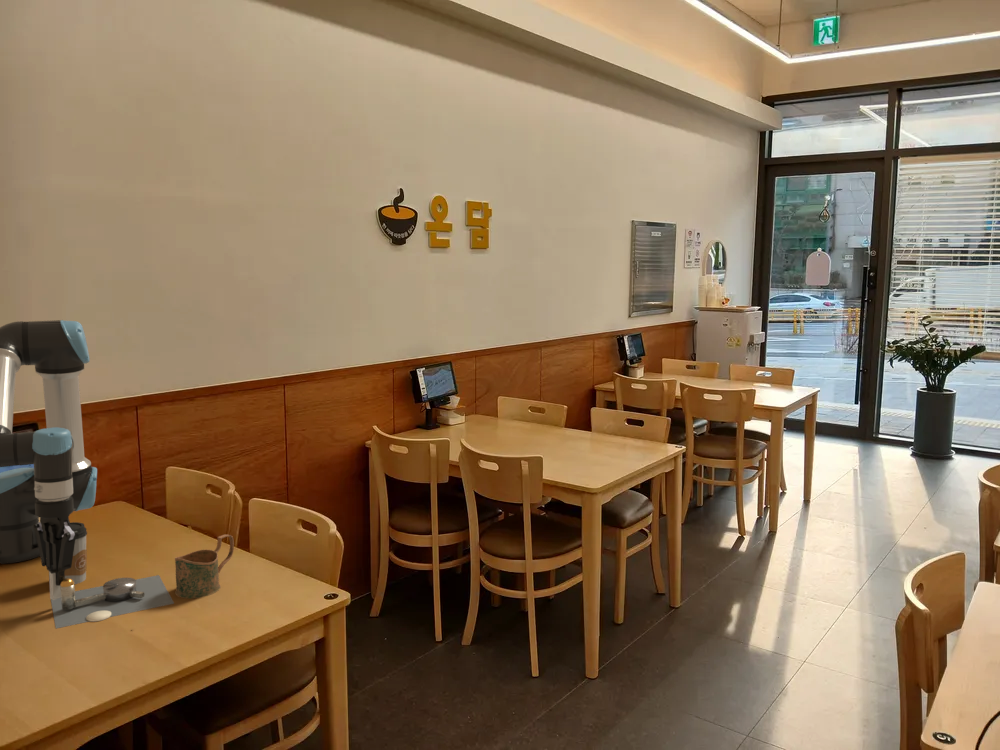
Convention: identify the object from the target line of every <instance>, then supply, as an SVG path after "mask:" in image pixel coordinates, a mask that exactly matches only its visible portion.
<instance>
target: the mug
mask: <svg viewBox="0 0 1000 750" xmlns="http://www.w3.org/2000/svg"><path fill="white" fill-rule="evenodd" d="M227 537H228V538H229V552H228V554H227V557H226V558H224V560H223V561H221V563H220V564H219V561H218V560H219V555H218V553H219V551H220V550H221V547H222V539H224V538H227ZM234 549H235V541H234V536H233V535H231V534H222V535H219V536H217V544H216V547H215V549H214V550H212V549H199V550H195V551H192V552H190V553H187V554H184V555H180V556H176V557H174V563H175V585H176V590H175V592H174V593H175V595H176V597H179V598H182V599H199V598H205V597H208V596H210V595H213V594H216V593H218V592H219V591H220V589H221V587H222V586H221V584H220V577H219V576H220V575H219V574H220V572H221V570H222V569H223V568H224V566H225V565H226V564H227V563H228V562H229V561H230V559H231V558H232V557H233V554H234Z"/></svg>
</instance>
